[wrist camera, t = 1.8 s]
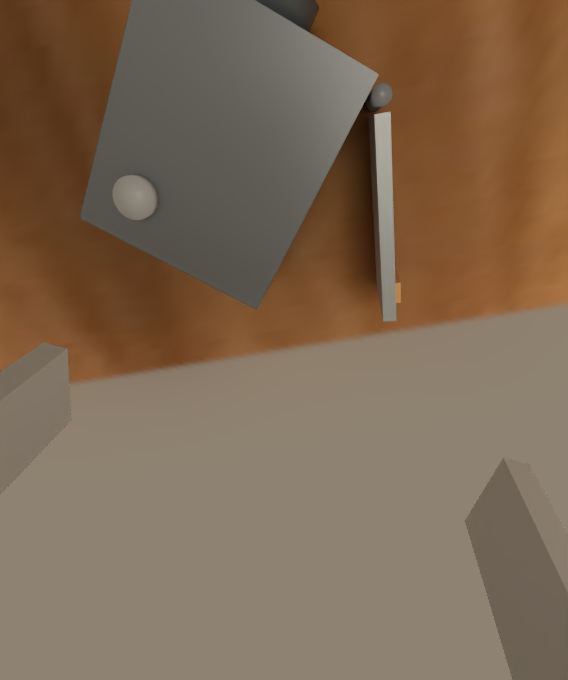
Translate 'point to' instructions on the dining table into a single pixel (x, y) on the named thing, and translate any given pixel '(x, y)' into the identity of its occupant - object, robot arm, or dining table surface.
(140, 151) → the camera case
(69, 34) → the dining table surface
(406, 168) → the dining table surface
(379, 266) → the side door
